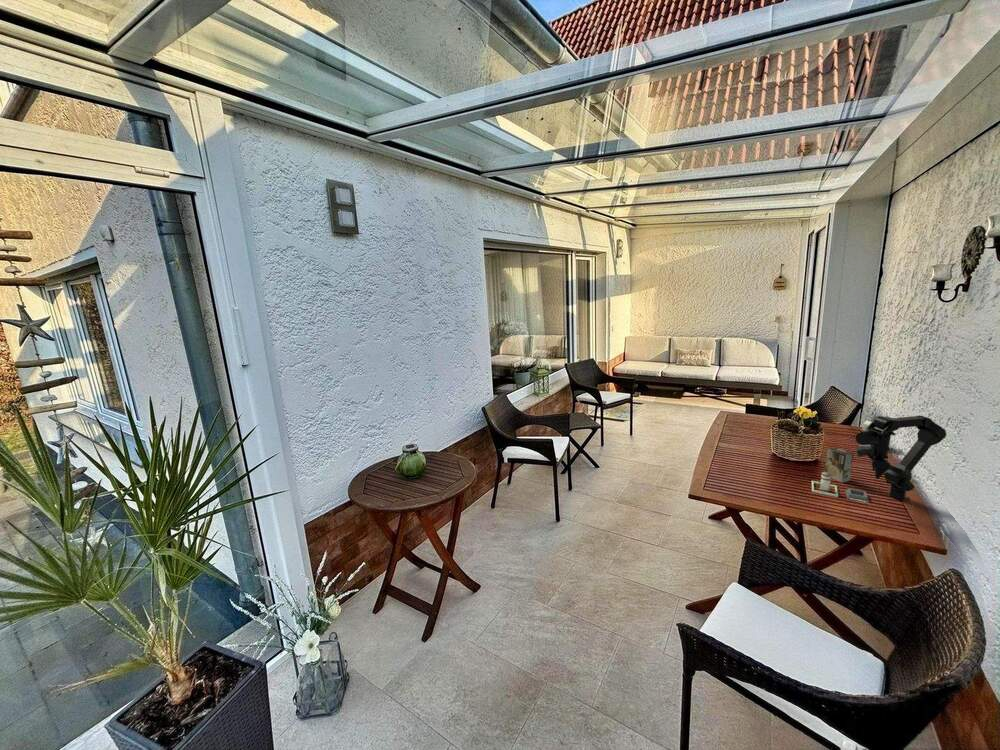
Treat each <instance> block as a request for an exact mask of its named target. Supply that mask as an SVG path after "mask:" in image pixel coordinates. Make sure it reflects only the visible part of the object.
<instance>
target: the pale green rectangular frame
mask: <svg viewBox="0 0 1000 750" xmlns="http://www.w3.org/2000/svg"><path fill="white" fill-rule="evenodd" d="M815 484H816V485H820V484H821V481H815V480H811V492H812V493H815V494H821V495H824V496H829V497H835V498H839V492H838V491H839V490H838V487H837V484H836V485H835V484H831V483H830V487H831V488H834V491H835V492H834V493H830V492H826V491H822V490H817V489H815V486H814V485H815ZM830 487H829V488H830Z"/></svg>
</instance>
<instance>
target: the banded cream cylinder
mask: <svg viewBox="0 0 1000 750" xmlns="http://www.w3.org/2000/svg"><path fill="white" fill-rule="evenodd" d="M831 475H832V474H831V473H828V472H825V471H822V472H821V479H820V482H821V484H819V491H821V492H826V493H829V492H830V484H831V479H832V478H831Z"/></svg>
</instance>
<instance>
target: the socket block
mask: <svg viewBox="0 0 1000 750" xmlns="http://www.w3.org/2000/svg"><path fill="white" fill-rule="evenodd" d="M844 490H845V495H846V499H847V500H853V501H859V502H863V503H867V504H869V503H870V502H869V501H870V500H869V497H868V494H867V492H866V491H865V490H864V491H863V490H859V489H855V488H854V489H853V488H848V487H847V489H844Z"/></svg>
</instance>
